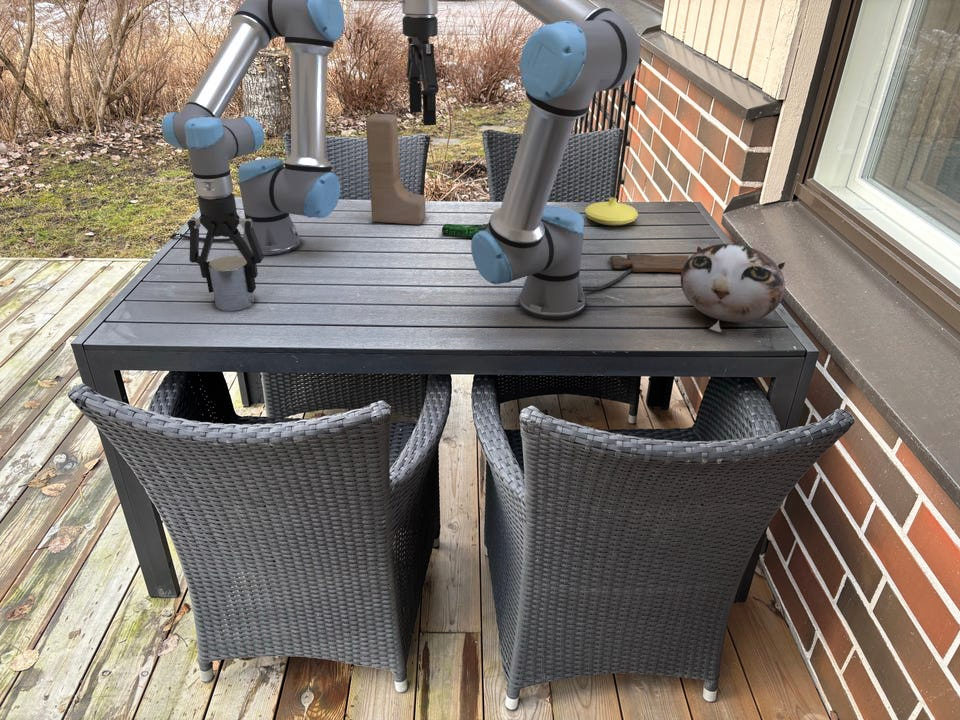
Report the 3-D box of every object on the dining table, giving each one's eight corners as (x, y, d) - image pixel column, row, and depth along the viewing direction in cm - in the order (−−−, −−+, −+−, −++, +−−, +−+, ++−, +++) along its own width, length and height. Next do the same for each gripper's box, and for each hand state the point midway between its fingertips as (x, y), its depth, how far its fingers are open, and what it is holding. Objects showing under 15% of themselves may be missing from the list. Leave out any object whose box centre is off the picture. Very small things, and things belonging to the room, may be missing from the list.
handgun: (511, 219, 210) (493, 234, 198) (511, 228, 211) (492, 244, 199) (461, 212, 215) (440, 226, 203) (461, 221, 217) (440, 236, 204)
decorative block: (420, 225, 212) (417, 121, 196) (371, 222, 213) (364, 118, 198) (426, 217, 218) (423, 115, 203) (378, 214, 220) (371, 113, 204)
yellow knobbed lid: (599, 209, 226) (601, 187, 223) (645, 219, 218) (648, 197, 215) (575, 222, 215) (576, 200, 212) (622, 234, 207) (625, 211, 204)
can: (209, 309, 163) (201, 269, 158) (224, 293, 170) (217, 254, 165) (245, 312, 162) (238, 271, 157) (259, 295, 170) (253, 256, 165)
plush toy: (658, 308, 155) (687, 223, 157) (673, 329, 171) (700, 252, 172) (764, 333, 144) (794, 241, 146) (770, 354, 160) (797, 271, 162)
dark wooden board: (713, 276, 184) (704, 260, 192) (715, 269, 183) (705, 255, 191) (613, 272, 184) (608, 257, 192) (614, 266, 183) (609, 251, 192)
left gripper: (158, 199, 150) (180, 296, 161) (261, 200, 150) (275, 297, 162) (171, 188, 156) (191, 282, 168) (269, 189, 156) (282, 283, 168)
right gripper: (391, 10, 161) (395, 108, 172) (415, 21, 141) (419, 131, 152) (423, 10, 163) (425, 106, 174) (452, 21, 143) (453, 129, 154)
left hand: (232, 290), depth 165 cm, fingers closed on can, 8 cm apart
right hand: (422, 118), depth 163 cm, fingers open, 13 cm apart
